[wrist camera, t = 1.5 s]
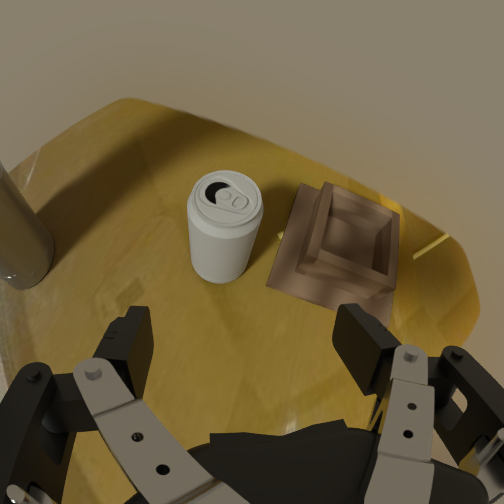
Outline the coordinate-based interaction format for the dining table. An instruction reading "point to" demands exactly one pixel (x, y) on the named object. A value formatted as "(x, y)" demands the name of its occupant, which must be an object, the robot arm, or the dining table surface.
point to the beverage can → (223, 224)
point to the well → (339, 251)
